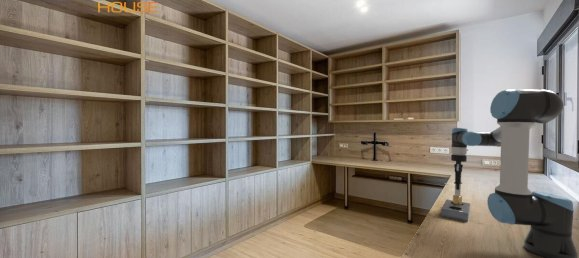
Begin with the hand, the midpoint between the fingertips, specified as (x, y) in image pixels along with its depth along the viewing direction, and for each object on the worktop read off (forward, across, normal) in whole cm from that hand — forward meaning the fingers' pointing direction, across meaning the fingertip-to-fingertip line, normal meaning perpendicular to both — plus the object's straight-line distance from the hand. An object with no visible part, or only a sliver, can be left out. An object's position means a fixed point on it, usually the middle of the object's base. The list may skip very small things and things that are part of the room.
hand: (457, 194), depth 151 cm
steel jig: (+10, -5, 0) cm, 11 cm away
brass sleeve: (+10, 0, 0) cm, 10 cm away
